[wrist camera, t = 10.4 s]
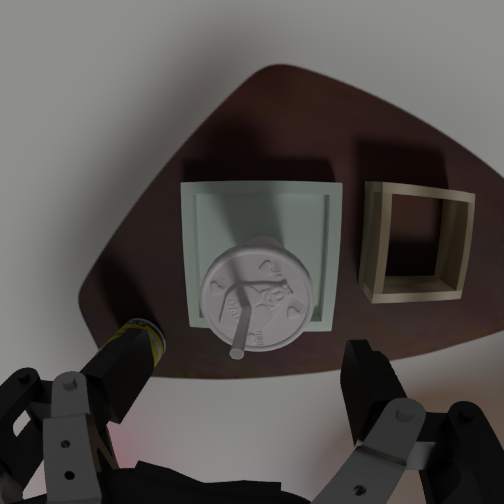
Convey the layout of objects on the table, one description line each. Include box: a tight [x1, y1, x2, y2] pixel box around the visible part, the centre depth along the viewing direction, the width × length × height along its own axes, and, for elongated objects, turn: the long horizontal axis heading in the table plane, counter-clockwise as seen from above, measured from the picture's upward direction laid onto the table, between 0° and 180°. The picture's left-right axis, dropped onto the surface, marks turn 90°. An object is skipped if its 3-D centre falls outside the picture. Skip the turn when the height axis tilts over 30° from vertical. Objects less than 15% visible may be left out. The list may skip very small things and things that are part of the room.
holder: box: [358, 181, 475, 303], centre depth 22 cm, size 10×10×4 cm
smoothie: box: [200, 236, 315, 359], centre depth 18 cm, size 6×6×14 cm
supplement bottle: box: [95, 318, 166, 367], centre depth 24 cm, size 5×5×10 cm
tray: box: [181, 181, 342, 331], centre depth 24 cm, size 13×13×2 cm
